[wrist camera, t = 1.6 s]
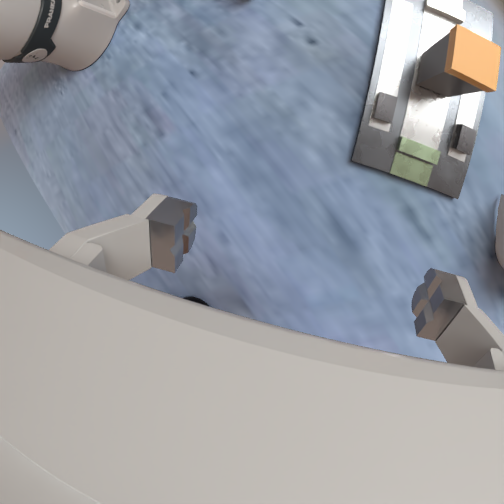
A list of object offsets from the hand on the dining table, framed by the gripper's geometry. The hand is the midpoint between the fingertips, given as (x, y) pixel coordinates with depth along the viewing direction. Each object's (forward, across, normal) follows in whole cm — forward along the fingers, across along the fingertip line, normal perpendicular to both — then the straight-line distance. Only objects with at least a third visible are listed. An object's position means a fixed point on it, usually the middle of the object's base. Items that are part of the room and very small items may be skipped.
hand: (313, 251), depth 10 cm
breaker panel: (+29, -11, -8) cm, 32 cm away
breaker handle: (+27, -11, -8) cm, 31 cm away
